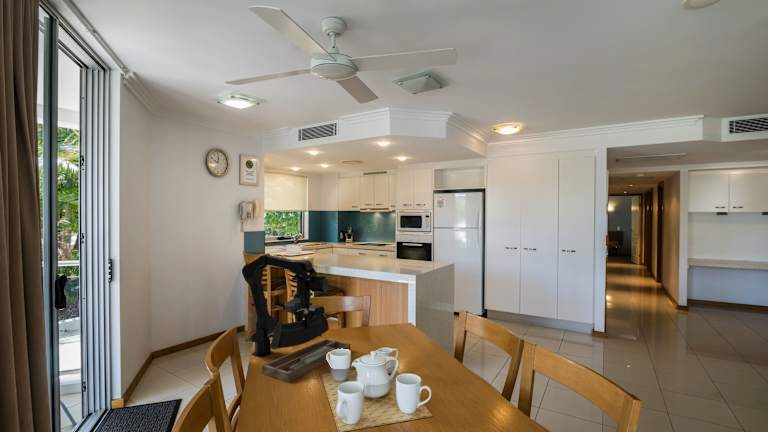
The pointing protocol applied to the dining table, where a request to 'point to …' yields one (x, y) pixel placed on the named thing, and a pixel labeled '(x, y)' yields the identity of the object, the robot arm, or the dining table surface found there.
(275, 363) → the tray
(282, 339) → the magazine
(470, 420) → the dining table surface
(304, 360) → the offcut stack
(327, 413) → the dining table surface
